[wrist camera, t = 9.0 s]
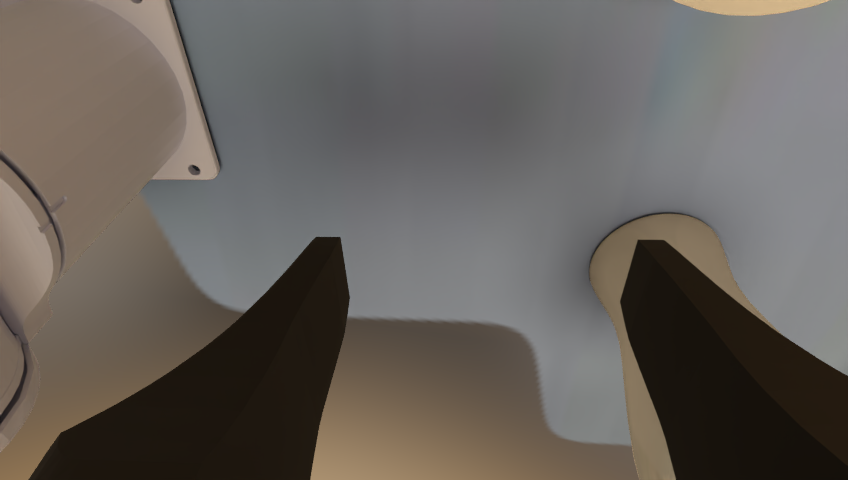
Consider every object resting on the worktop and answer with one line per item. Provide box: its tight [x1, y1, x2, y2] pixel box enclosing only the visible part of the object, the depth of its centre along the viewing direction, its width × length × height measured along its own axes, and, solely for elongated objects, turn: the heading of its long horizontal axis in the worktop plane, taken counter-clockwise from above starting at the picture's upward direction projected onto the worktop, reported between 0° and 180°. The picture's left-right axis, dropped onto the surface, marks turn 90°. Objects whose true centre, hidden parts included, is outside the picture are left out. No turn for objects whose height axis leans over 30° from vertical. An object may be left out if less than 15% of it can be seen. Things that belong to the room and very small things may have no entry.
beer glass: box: [589, 213, 782, 480], centre depth 19 cm, size 7×7×15 cm
